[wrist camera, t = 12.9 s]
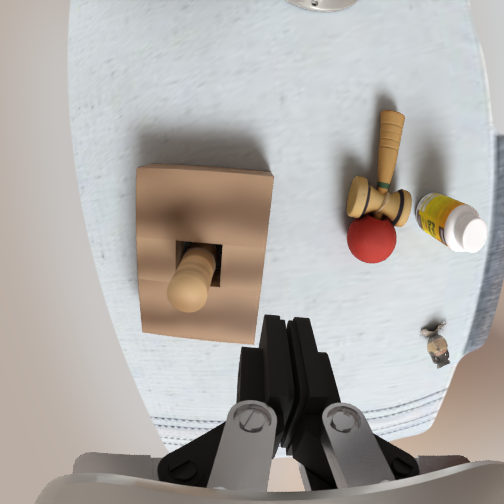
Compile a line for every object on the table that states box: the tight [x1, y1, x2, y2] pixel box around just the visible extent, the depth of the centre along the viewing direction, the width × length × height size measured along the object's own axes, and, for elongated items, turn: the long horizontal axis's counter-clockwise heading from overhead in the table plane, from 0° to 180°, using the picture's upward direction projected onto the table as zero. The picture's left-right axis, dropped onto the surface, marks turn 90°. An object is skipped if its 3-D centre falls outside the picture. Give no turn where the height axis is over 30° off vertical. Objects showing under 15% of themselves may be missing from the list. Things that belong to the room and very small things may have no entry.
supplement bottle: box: [416, 193, 487, 253], centre depth 32 cm, size 6×6×10 cm
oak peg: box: [167, 242, 218, 313], centre depth 32 cm, size 4×4×12 cm
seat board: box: [136, 164, 274, 345], centre depth 36 cm, size 20×14×5 cm
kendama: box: [347, 110, 412, 263], centre depth 33 cm, size 8×6×18 cm
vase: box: [419, 322, 452, 373], centre depth 41 cm, size 5×5×6 cm
